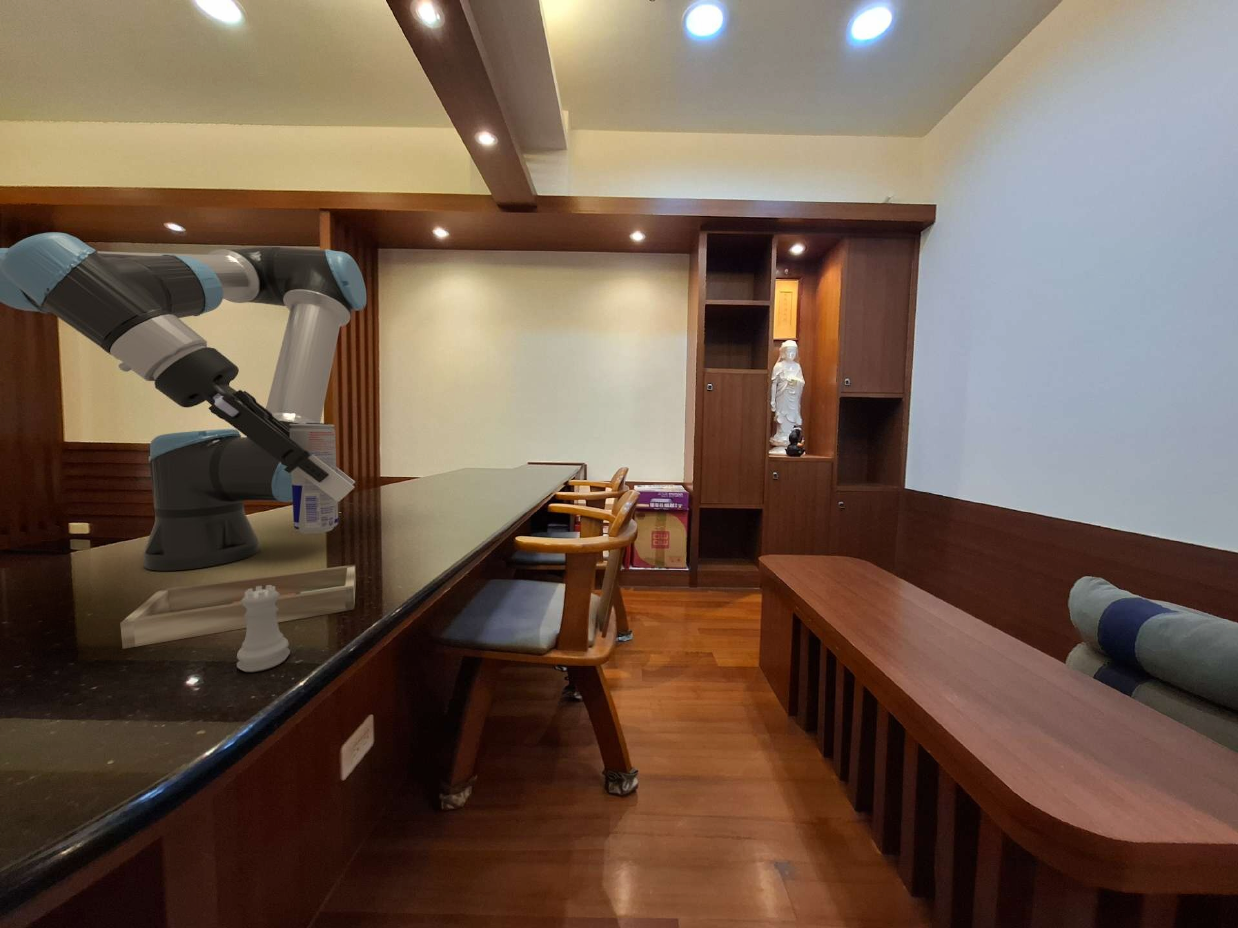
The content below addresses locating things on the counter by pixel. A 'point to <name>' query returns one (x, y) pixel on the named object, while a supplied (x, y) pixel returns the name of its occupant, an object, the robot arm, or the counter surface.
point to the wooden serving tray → (235, 604)
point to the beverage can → (309, 501)
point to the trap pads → (279, 596)
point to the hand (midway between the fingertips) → (346, 491)
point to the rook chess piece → (261, 632)
